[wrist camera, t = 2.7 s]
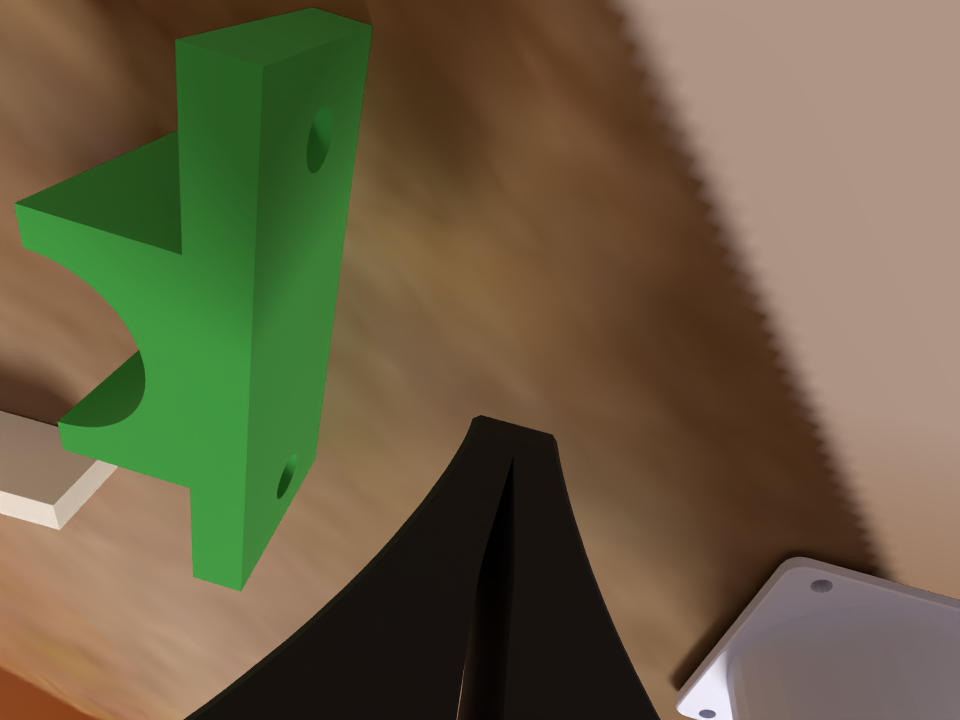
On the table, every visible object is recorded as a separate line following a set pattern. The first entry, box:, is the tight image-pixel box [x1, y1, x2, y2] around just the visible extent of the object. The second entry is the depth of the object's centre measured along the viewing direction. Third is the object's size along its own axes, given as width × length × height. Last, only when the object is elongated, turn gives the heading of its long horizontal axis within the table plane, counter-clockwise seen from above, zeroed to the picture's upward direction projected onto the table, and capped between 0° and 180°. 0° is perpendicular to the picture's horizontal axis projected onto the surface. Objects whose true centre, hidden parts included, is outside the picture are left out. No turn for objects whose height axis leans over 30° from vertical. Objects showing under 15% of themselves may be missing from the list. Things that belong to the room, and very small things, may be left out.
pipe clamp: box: [14, 7, 373, 591], centre depth 13 cm, size 11×4×5 cm, turn 166°
